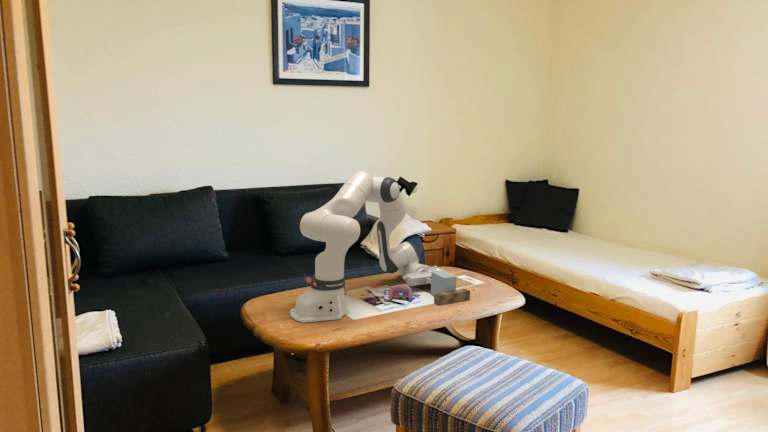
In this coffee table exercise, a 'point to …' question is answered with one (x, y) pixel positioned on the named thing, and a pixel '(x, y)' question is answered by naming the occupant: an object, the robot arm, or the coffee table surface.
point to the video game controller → (400, 288)
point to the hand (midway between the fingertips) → (436, 282)
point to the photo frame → (469, 279)
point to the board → (451, 297)
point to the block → (442, 282)
